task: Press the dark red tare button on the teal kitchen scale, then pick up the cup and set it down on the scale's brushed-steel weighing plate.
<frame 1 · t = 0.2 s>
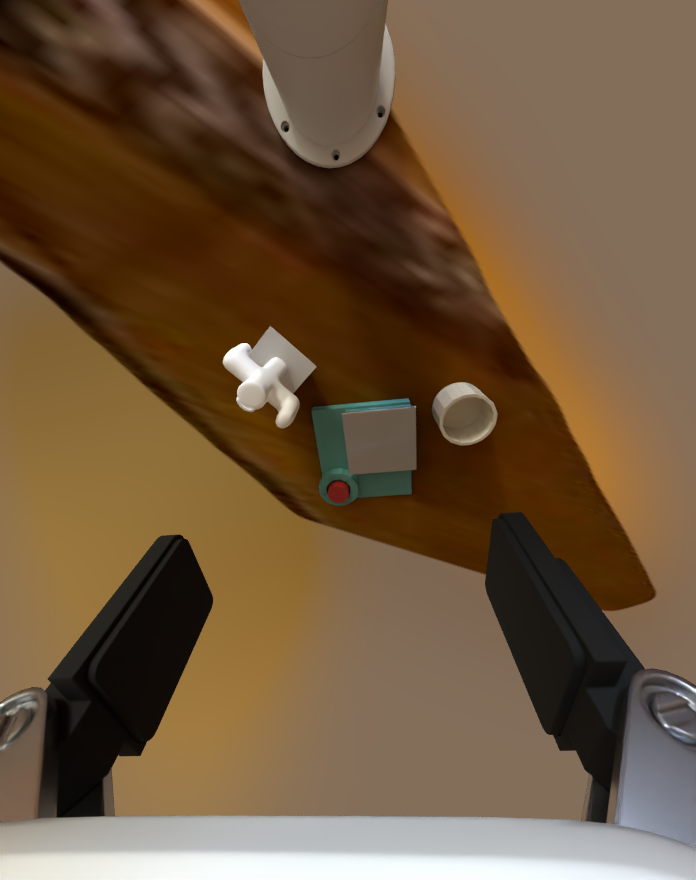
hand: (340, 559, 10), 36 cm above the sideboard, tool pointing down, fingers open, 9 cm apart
figurine: (283, 361, 44), on the sideboard
scale: (364, 450, 50), on the sideboard
tare button: (338, 491, 49), point 3 cm above the sideboard, slide at 0.1 cm
cup: (457, 406, 46), on the sideboard
weighing plate: (379, 432, 48), resting on scale
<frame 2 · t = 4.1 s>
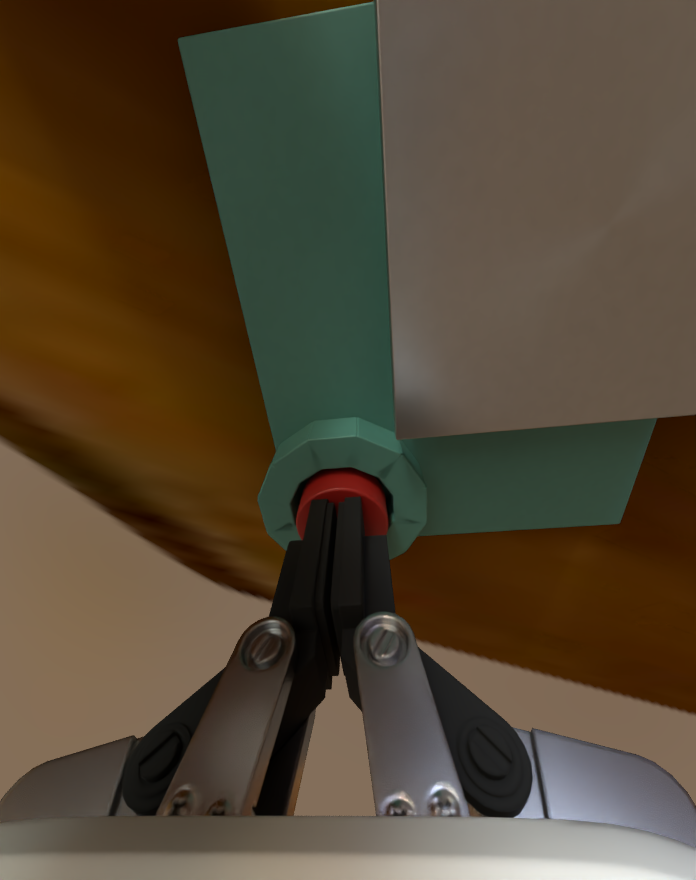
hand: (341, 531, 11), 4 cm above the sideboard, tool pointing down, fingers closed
scale: (451, 343, 12), on the sideboard
tare button: (342, 512, 12), point 3 cm above the sideboard, slide at -0.3 cm, touching gripper
weighing plate: (534, 240, 10), resting on scale
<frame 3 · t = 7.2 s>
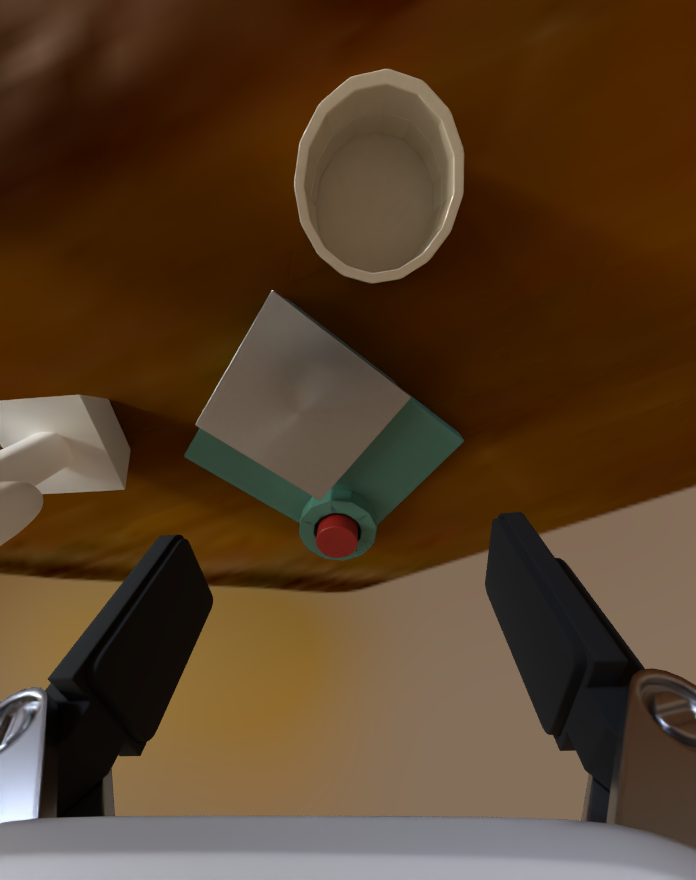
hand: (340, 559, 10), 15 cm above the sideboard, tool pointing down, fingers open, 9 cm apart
figurine: (95, 426, 25), on the sideboard
scale: (321, 440, 25), on the sideboard
tare button: (337, 535, 25), point 3 cm above the sideboard, slide at 0.1 cm
cup: (373, 211, 18), on the sideboard
weighing plate: (307, 394, 23), resting on scale
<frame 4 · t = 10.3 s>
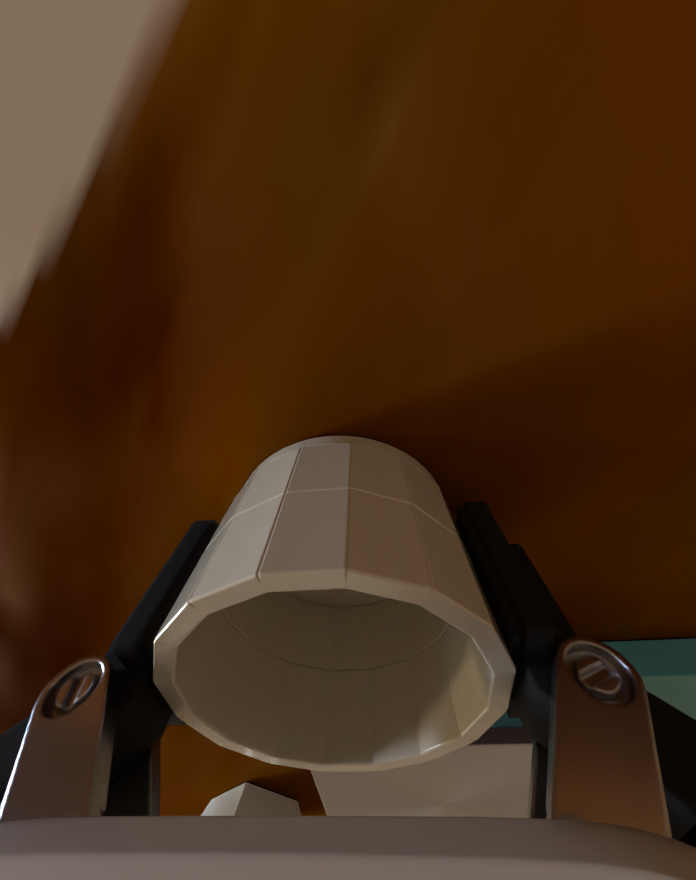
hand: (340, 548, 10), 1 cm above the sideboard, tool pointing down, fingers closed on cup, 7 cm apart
figurine: (255, 796, 22), on the sideboard
scale: (485, 725, 17), on the sideboard
cup: (342, 529, 11), on the sideboard, touching gripper
weighing plate: (428, 701, 16), resting on scale
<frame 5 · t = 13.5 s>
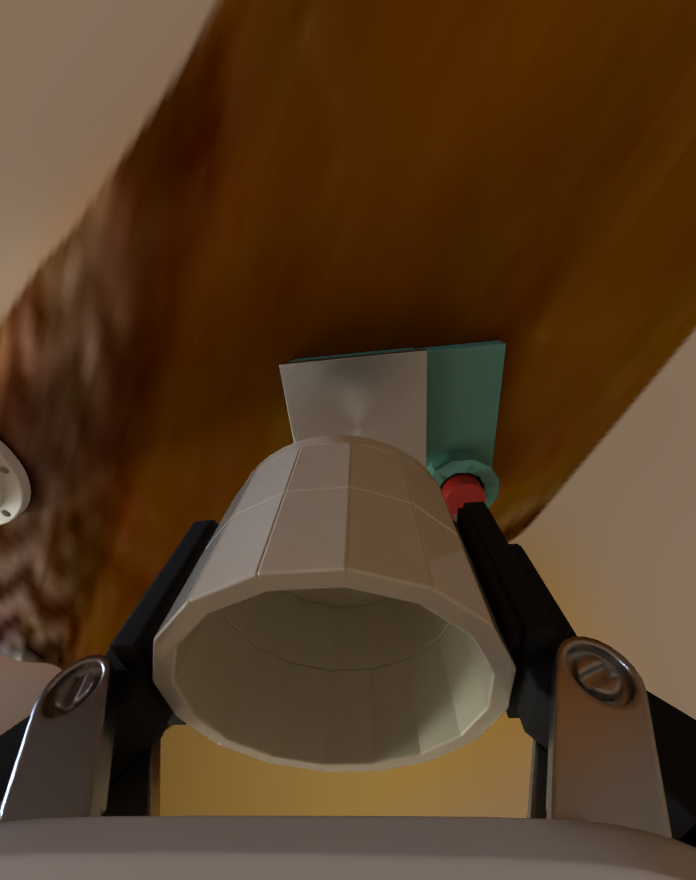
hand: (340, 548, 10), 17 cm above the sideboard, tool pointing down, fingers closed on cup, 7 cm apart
scale: (395, 432, 27), on the sideboard
tare button: (462, 494, 26), point 3 cm above the sideboard, slide at 0.1 cm
cup: (342, 528, 11), point 16 cm above the sideboard, touching gripper
weighing plate: (358, 408, 27), resting on scale
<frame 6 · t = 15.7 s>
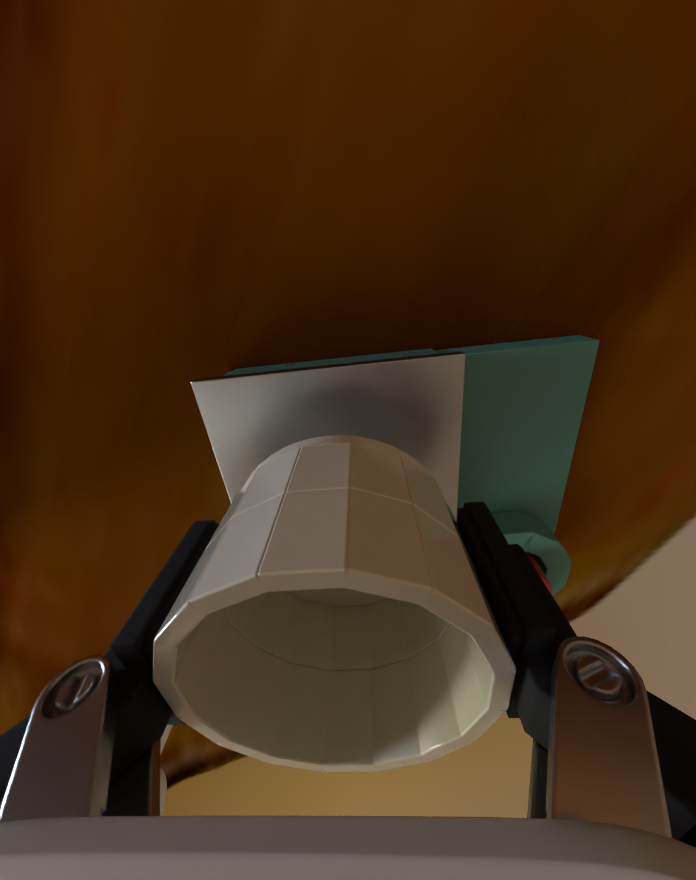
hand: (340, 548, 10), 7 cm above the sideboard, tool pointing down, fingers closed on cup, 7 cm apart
figurine: (199, 610, 23), on the sideboard
scale: (402, 481, 18), on the sideboard
tare button: (512, 584, 16), point 3 cm above the sideboard, slide at 0.1 cm
cup: (342, 528, 11), point 6 cm above the sideboard, touching gripper
weighing plate: (343, 446, 17), resting on scale
when the fingers open (4 cm above the sideboard, at t = 17.1 s): cup stays where it is, resting on weighing plate.
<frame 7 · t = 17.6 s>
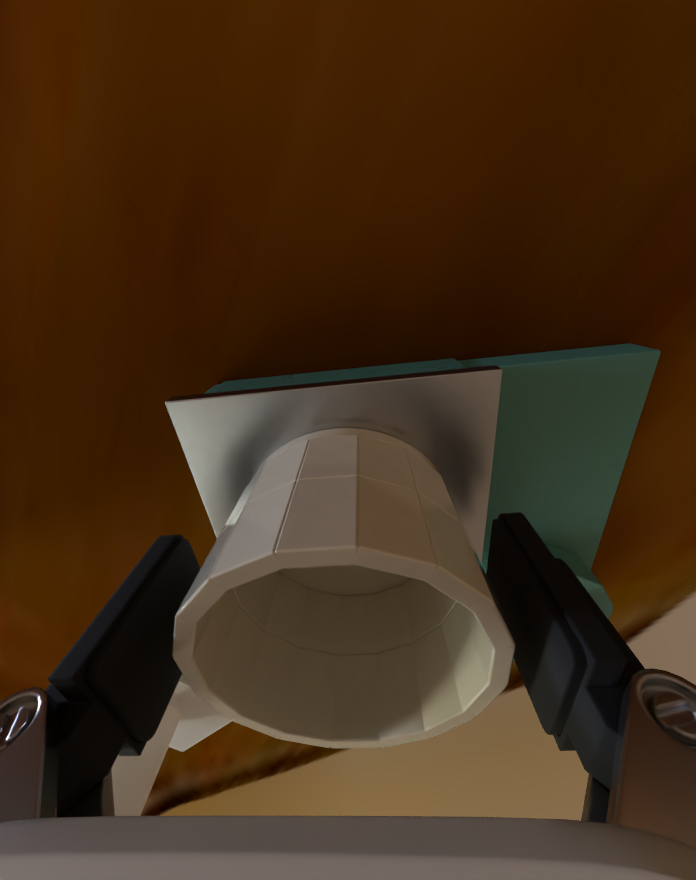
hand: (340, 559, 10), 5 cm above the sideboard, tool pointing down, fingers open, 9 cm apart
figurine: (190, 640, 21), on the sideboard
scale: (415, 507, 15), on the sideboard
cup: (348, 519, 11), point 3 cm above the sideboard, touching weighing plate
weighing plate: (348, 468, 15), resting on scale
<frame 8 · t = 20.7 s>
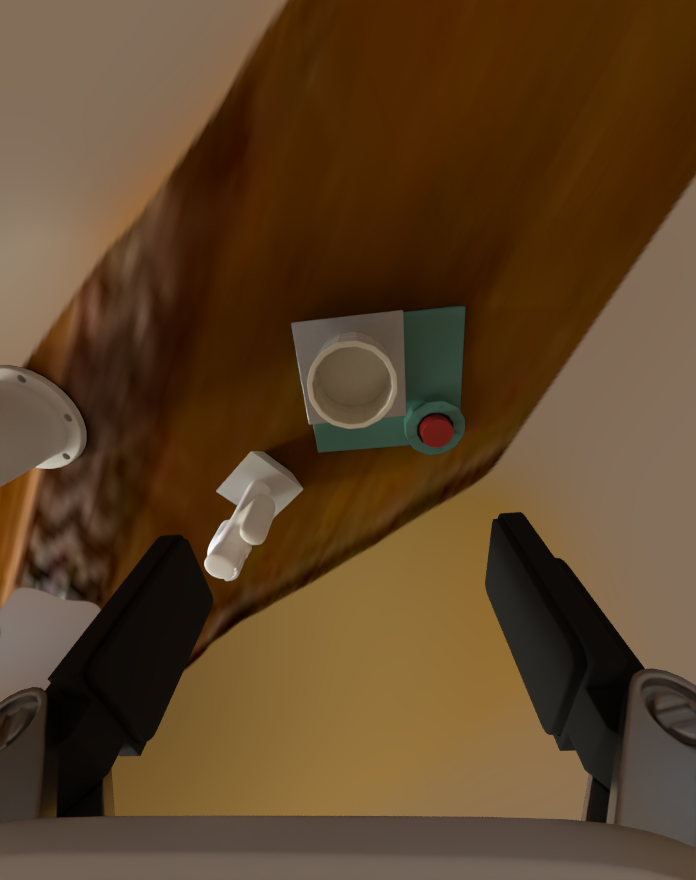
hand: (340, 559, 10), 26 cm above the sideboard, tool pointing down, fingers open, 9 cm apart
figurine: (267, 472, 40), on the sideboard
scale: (382, 383, 34), on the sideboard
tare button: (435, 430, 33), point 3 cm above the sideboard, slide at 0.1 cm
cup: (353, 372, 30), point 3 cm above the sideboard, touching weighing plate
weighing plate: (352, 363, 33), resting on scale
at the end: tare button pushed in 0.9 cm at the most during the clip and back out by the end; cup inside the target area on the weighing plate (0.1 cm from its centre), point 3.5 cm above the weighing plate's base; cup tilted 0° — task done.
